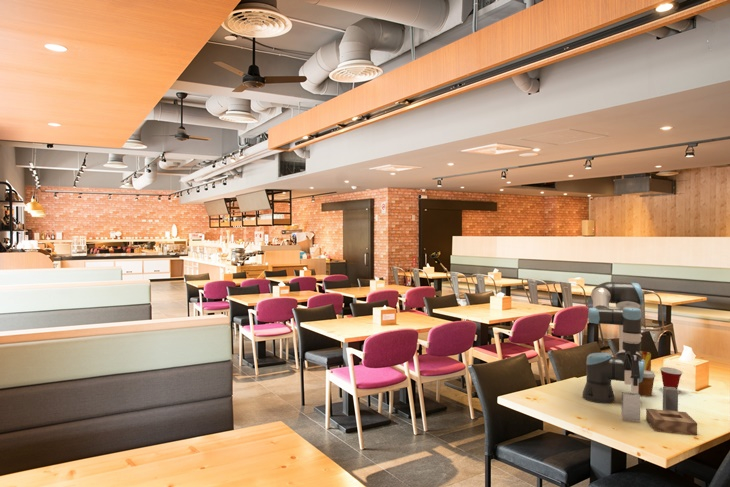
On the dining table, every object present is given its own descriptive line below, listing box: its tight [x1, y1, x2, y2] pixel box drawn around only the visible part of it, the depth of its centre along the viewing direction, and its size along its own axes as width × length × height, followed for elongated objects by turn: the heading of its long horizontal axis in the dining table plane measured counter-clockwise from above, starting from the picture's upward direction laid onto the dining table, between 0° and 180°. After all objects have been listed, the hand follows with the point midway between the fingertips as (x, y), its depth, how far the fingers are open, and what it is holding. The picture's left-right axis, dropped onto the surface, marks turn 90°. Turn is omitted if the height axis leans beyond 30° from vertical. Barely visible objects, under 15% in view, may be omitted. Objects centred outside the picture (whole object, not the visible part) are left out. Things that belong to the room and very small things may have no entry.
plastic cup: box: [659, 366, 684, 390], centre depth 271 cm, size 11×11×12 cm
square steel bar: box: [662, 386, 679, 411], centre depth 237 cm, size 5×5×12 cm
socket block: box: [645, 408, 698, 436], centre depth 220 cm, size 16×14×5 cm
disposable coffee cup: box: [637, 370, 656, 397], centre depth 266 cm, size 10×10×12 cm
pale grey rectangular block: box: [621, 391, 641, 423], centre depth 228 cm, size 7×3×12 cm, turn 74°
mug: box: [638, 350, 652, 371], centre depth 309 cm, size 10×14×12 cm
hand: (631, 388), depth 228 cm, fingers open, 13 cm apart
